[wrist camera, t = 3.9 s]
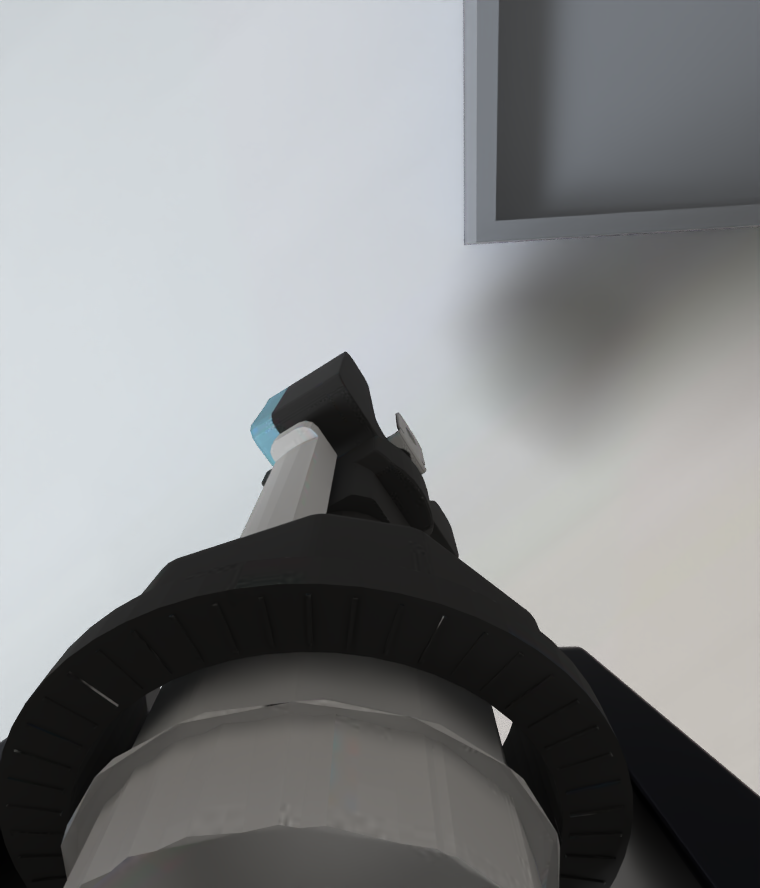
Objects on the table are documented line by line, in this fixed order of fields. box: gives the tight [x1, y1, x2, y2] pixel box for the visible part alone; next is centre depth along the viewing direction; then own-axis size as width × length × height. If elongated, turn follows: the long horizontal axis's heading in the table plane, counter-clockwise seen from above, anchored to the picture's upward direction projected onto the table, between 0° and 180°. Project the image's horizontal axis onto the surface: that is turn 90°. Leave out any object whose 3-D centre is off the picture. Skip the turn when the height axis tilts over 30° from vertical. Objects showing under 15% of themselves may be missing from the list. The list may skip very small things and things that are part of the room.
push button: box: [0, 352, 633, 888], centre depth 8 cm, size 7×5×10 cm
